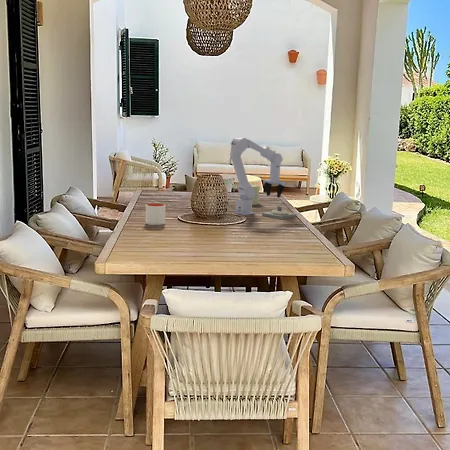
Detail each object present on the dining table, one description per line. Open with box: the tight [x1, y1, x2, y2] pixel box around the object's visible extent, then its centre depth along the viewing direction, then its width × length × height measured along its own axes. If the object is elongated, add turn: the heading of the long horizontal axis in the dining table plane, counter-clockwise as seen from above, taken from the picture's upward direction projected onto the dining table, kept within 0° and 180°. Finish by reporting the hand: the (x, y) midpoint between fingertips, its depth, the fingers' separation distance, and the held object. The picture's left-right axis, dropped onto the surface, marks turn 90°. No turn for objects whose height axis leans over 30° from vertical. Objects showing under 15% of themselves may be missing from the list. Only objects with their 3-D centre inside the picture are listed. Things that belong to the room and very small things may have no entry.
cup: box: [145, 202, 166, 226], centre depth 310 cm, size 10×10×10 cm
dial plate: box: [261, 210, 297, 220], centre depth 349 cm, size 14×14×2 cm
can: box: [251, 184, 260, 206], centre depth 389 cm, size 9×9×12 cm
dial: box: [271, 205, 288, 215], centre depth 349 cm, size 11×9×4 cm
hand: (273, 196), depth 359 cm, fingers open, 7 cm apart
